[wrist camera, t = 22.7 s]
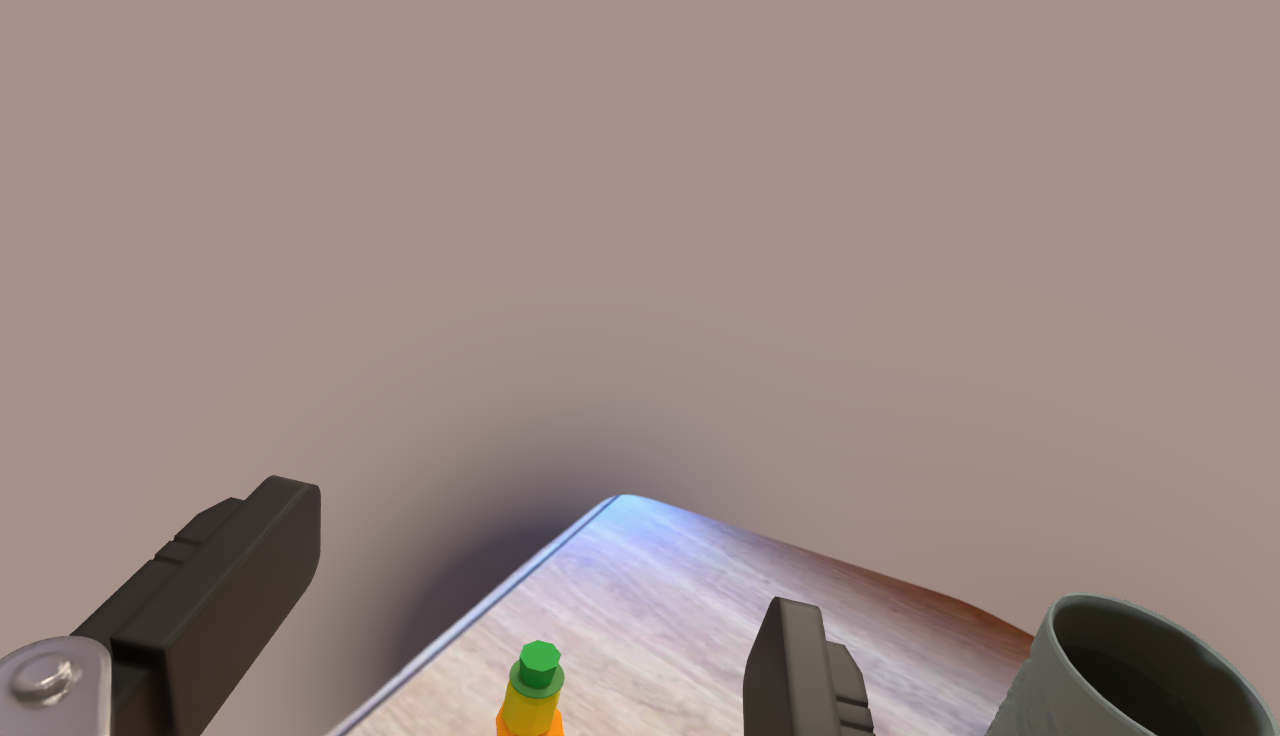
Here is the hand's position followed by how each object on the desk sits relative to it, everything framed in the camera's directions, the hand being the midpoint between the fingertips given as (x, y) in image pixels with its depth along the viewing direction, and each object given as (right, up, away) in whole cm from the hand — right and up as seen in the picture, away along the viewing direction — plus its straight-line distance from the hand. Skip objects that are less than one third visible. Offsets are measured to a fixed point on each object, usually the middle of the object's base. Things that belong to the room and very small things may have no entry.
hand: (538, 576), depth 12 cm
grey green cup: (+25, -22, +28) cm, 43 cm away
